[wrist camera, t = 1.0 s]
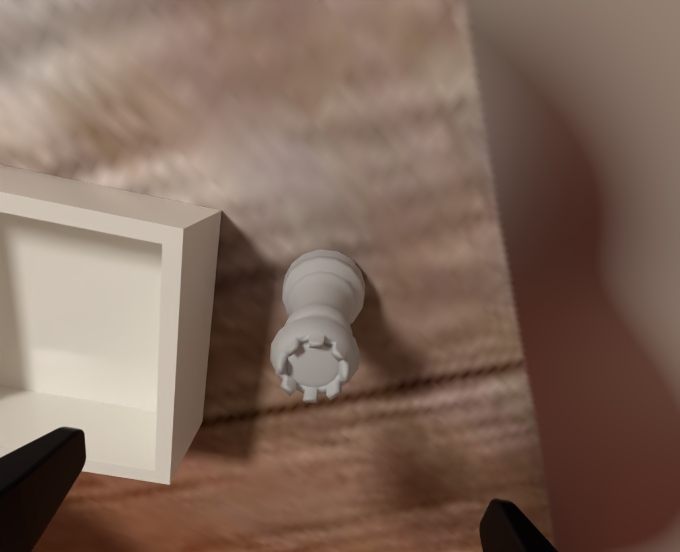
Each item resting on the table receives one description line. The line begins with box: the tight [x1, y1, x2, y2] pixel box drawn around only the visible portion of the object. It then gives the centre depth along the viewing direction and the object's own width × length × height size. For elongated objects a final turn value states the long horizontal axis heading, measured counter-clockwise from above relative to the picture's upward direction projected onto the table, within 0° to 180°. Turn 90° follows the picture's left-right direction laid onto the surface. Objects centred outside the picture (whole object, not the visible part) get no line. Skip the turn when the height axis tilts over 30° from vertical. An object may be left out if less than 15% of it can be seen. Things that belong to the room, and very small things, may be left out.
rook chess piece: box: [270, 249, 365, 403], centre depth 15 cm, size 4×4×8 cm
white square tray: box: [0, 165, 222, 485], centre depth 17 cm, size 14×14×4 cm
